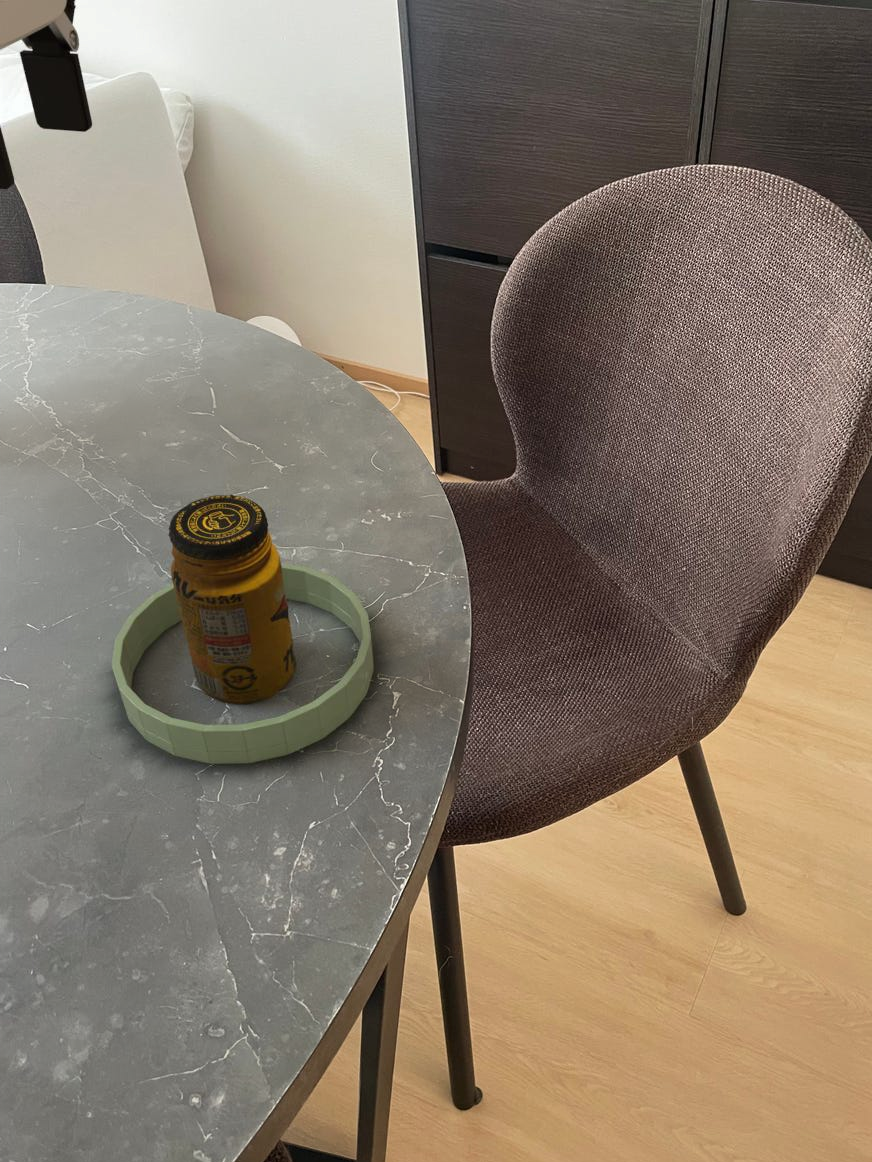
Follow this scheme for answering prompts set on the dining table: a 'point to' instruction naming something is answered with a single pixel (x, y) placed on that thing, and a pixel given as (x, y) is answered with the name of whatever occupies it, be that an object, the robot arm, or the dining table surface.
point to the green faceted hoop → (261, 735)
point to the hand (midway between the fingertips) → (27, 155)
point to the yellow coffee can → (231, 599)
